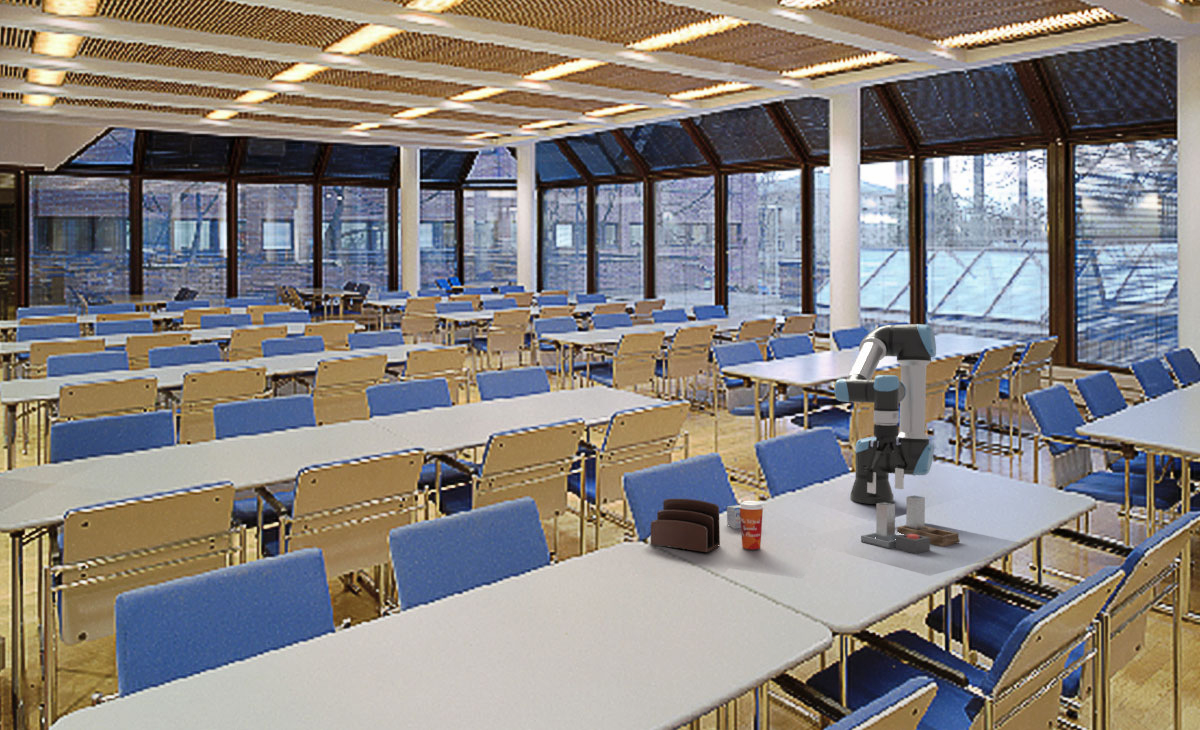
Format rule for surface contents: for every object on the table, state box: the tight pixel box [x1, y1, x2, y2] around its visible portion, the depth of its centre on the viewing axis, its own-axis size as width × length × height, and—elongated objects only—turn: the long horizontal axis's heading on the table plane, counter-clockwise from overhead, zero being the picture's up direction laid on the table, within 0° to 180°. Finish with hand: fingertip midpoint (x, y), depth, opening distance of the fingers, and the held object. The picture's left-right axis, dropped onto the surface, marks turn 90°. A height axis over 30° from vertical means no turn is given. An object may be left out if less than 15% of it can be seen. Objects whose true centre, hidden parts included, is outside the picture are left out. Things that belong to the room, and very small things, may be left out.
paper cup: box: [738, 500, 765, 550], centre depth 269 cm, size 8×8×14 cm
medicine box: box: [726, 504, 741, 529], centre depth 290 cm, size 8×4×9 cm, turn 118°
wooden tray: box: [896, 524, 961, 548], centre depth 277 cm, size 17×9×3 cm, turn 34°
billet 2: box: [905, 495, 926, 530], centre depth 281 cm, size 4×4×12 cm
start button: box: [907, 534, 919, 539], centre depth 264 cm, size 4×4×2 cm
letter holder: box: [650, 498, 721, 553], centre depth 272 cm, size 10×20×14 cm, turn 58°
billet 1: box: [875, 502, 896, 542], centre depth 273 cm, size 4×4×12 cm
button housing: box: [895, 533, 931, 555], centre depth 264 cm, size 7×7×4 cm
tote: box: [860, 532, 899, 549], centre depth 273 cm, size 11×11×2 cm
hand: (885, 490), depth 272 cm, fingers open, 13 cm apart
